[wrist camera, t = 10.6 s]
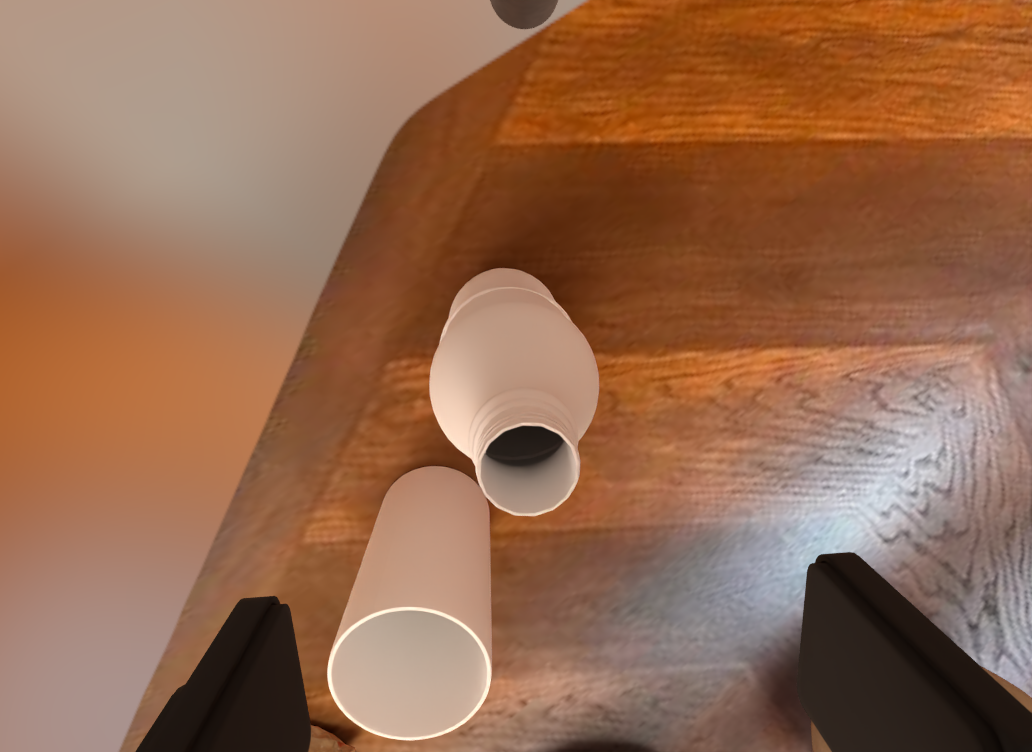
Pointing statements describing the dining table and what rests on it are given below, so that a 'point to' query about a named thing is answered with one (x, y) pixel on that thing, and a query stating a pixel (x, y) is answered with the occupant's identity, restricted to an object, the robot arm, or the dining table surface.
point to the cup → (419, 611)
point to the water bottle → (515, 389)
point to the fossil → (327, 742)
